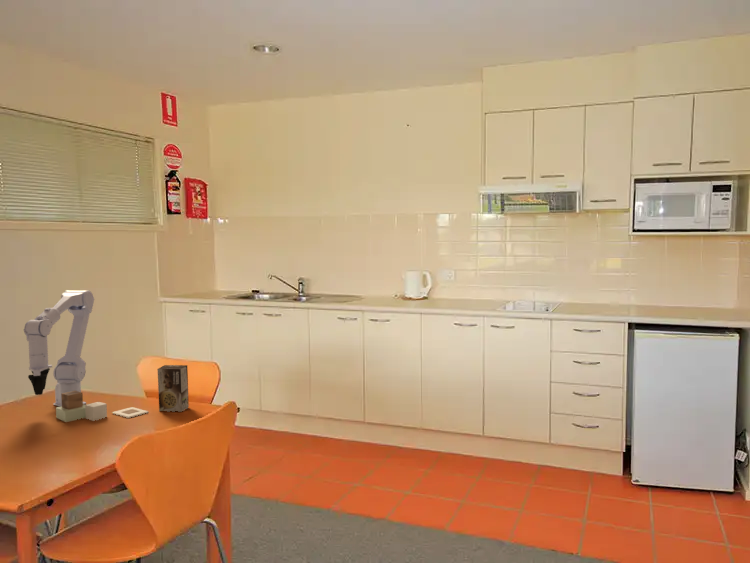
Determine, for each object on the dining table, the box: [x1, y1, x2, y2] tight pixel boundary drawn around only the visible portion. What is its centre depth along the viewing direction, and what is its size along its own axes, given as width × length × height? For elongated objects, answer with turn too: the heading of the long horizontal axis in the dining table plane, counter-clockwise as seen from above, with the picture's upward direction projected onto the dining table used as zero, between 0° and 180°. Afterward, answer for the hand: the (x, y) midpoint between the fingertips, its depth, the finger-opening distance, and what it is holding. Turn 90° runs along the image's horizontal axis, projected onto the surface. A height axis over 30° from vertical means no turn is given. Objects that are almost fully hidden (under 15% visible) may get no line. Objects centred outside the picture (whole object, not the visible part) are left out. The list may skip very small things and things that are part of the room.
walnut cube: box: [61, 391, 84, 410], centre depth 210 cm, size 5×5×5 cm
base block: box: [55, 404, 86, 423], centre depth 210 cm, size 8×8×4 cm
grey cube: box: [84, 401, 108, 422], centre depth 209 cm, size 5×5×5 cm
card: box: [111, 406, 149, 419], centre depth 214 cm, size 10×8×1 cm
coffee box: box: [157, 364, 190, 413], centre depth 219 cm, size 9×6×16 cm
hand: (40, 391), depth 208 cm, fingers open, 7 cm apart
